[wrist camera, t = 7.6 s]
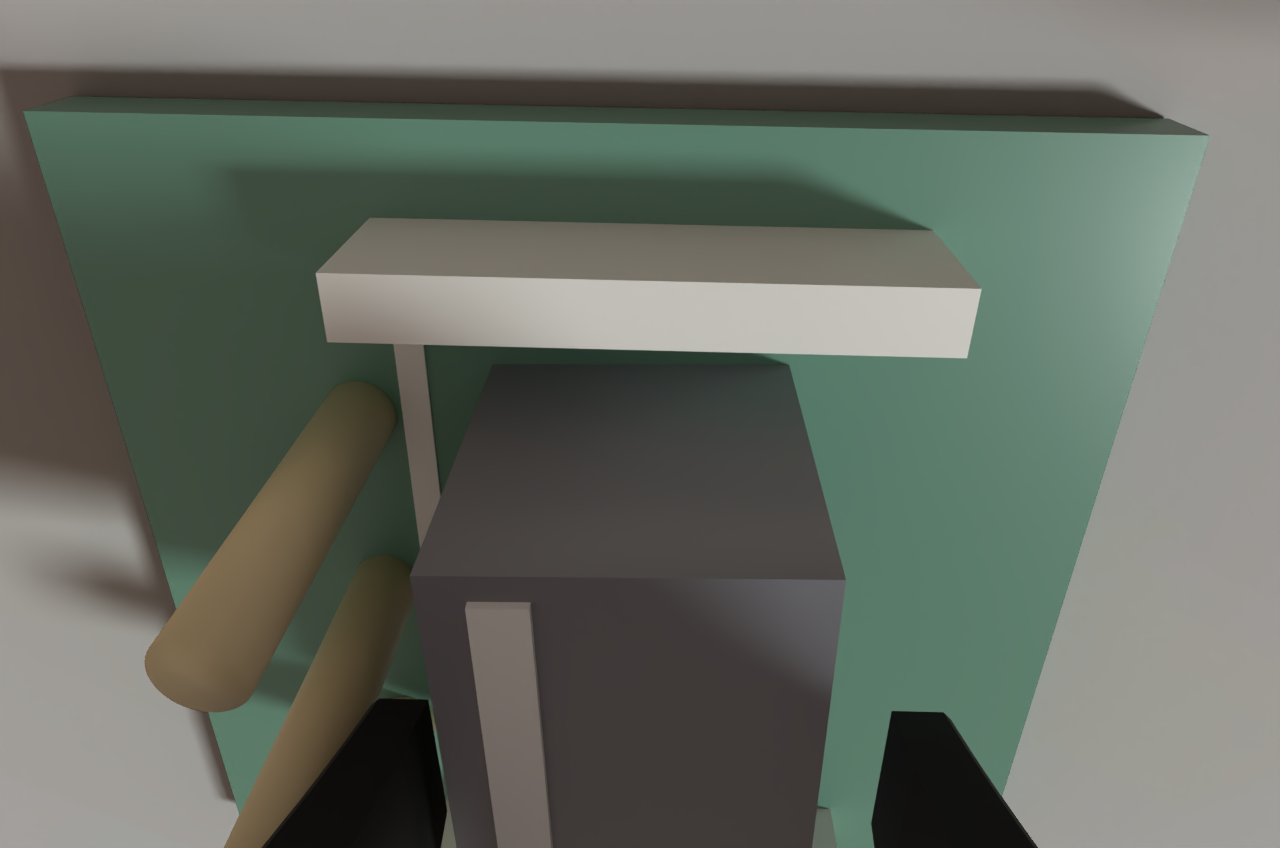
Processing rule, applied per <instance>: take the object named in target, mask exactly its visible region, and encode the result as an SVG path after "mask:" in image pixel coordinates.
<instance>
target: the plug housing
mask: <svg viewBox="0 0 1280 848" xmlns="http://www.w3.org/2000/svg"><path fill="white" fill-rule="evenodd" d="M410 581H411V586H412V592H413V598H414V604H415V610H416V615H417V621H418V627H419V633H420V639H421V644H422V650H423V656H424V662H425V668H426V673H427V679H428V685H429V691H430V697H431V702H432V708H433V714H434V720H435V726H436V731H437V737H438V743H439V749H440V755H441V760H442V766H443V772H444V778H445V784H446V789H447V795H448V801H449V807H450V812H451V818H452V824H453V830H454V836H455V841H456V847H457V848H812V844H813V836H814V828H815V820H816V812H817V805H818V797H819V789H820V781H821V773H822V765H823V758H824V750H825V742H826V734H827V726H828V718H829V711H830V703H831V695H832V687H833V679H834V671H835V663H836V656H837V648H838V640H839V632H840V624H841V616H842V609H843V601H844V593H845V585H846V578H845V574H844V570H843V566H842V562H841V559H840V555H839V551H838V547H837V544H836V540H835V536H834V532H833V528H832V525H831V521H830V517H829V513H828V509H827V506H826V502H825V498H824V494H823V491H822V487H821V483H820V479H819V475H818V472H817V468H816V464H815V460H814V457H813V453H812V449H811V445H810V441H809V438H808V434H807V430H806V426H805V422H804V419H803V415H802V411H801V407H800V404H799V400H798V396H797V392H796V388H795V385H794V381H793V377H792V373H791V370H790V366H789V365H605V364H492V367H491V370H490V372H489V375H488V377H487V380H486V382H485V385H484V387H483V390H482V393H481V395H480V398H479V400H478V403H477V405H476V408H475V410H474V413H473V416H472V418H471V421H470V423H469V426H468V428H467V431H466V433H465V436H464V439H463V441H462V444H461V446H460V449H459V451H458V454H457V456H456V459H455V462H454V464H453V467H452V469H451V472H450V474H449V477H448V479H447V482H446V485H445V487H444V490H443V492H442V495H441V497H440V500H439V502H438V505H437V508H436V510H435V513H434V515H433V518H432V520H431V523H430V525H429V528H428V530H427V533H426V536H425V538H424V541H423V543H422V546H421V548H420V551H419V553H418V556H417V559H416V561H415V564H414V566H413V569H412V571H411V574H410Z"/></svg>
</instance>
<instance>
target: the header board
mask: <svg viewBox="0 0 1280 848" xmlns="http://www.w3.org/2000/svg"><path fill="white" fill-rule="evenodd" d="M23 113H24V116H25V119H26V123H27V126H28V129H29V132H30V136H31V139H32V142H33V145H34V149H35V152H36V155H37V158H38V162H39V165H40V168H41V171H42V175H43V178H44V181H45V184H46V188H47V191H48V194H49V197H50V201H51V204H52V207H53V210H54V214H55V217H56V220H57V223H58V227H59V230H60V233H61V236H62V240H63V243H64V246H65V249H66V253H67V256H68V259H69V262H70V266H71V269H72V272H73V275H74V279H75V282H76V285H77V288H78V292H79V295H80V298H81V301H82V305H83V308H84V311H85V314H86V318H87V321H88V324H89V327H90V331H91V334H92V337H93V340H94V344H95V347H96V350H97V353H98V357H99V360H100V363H101V366H102V370H103V373H104V376H105V379H106V383H107V386H108V389H109V392H110V396H111V399H112V402H113V405H114V409H115V412H116V415H117V418H118V422H119V425H120V428H121V431H122V435H123V438H124V441H125V444H126V448H127V451H128V454H129V457H130V461H131V464H132V467H133V470H134V474H135V477H136V480H137V483H138V487H139V490H140V493H141V496H142V500H143V503H144V506H145V509H146V513H147V516H148V519H149V522H150V526H151V529H152V532H153V535H154V539H155V542H156V545H157V548H158V552H159V555H160V558H161V561H162V565H163V568H164V571H165V574H166V578H167V581H168V584H169V587H170V591H171V594H172V597H173V600H174V604H175V607H176V610H175V612H174V613H173V615H172V616H171V618H170V619H169V620H168V622H167V623H166V625H165V626H164V627H163V629H162V630H161V632H160V633H159V635H158V636H157V637H156V639H155V640H154V642H153V643H152V644H151V646H150V647H149V649H148V651H147V653H146V656H145V668H146V672H147V675H148V677H149V679H150V680H151V682H152V683H153V685H154V686H155V687H156V688H157V689H158V690H159V691H160V692H161V693H162V694H163V695H165V696H166V697H167V698H169V699H170V700H172V701H174V702H176V703H177V704H180V705H182V706H184V707H187V708H190V709H193V710H197V711H203V712H208V714H209V717H210V720H211V724H212V727H213V730H214V733H215V737H216V740H217V743H218V746H219V750H220V753H221V756H222V759H223V763H224V766H225V769H226V772H227V776H228V779H229V782H230V785H231V789H232V792H233V795H234V798H235V802H236V805H237V808H238V811H239V817H238V819H237V821H236V823H235V825H234V828H233V830H232V832H231V834H230V836H229V838H228V840H227V842H226V844H225V846H224V848H262V846H263V845H264V844H265V843H266V841H267V840H268V839H269V838H270V837H271V835H272V834H273V833H274V832H275V830H276V829H277V828H278V827H279V825H280V824H281V823H282V822H283V820H284V819H285V818H286V817H287V816H288V814H289V813H290V812H291V811H292V809H293V808H294V807H295V806H296V804H297V803H298V802H299V801H300V799H301V798H302V797H303V796H304V794H305V793H306V792H307V790H308V789H309V788H310V787H311V785H312V784H313V783H314V781H315V780H316V779H317V777H318V776H319V775H320V774H321V772H322V771H323V770H324V768H325V767H326V766H327V764H328V763H329V762H330V760H331V759H332V758H333V756H334V755H335V754H336V752H337V751H338V750H339V748H340V747H341V746H342V744H343V743H344V742H345V740H346V739H347V737H348V736H349V735H350V733H351V732H352V731H353V729H354V728H355V727H356V725H357V724H358V722H359V721H360V720H361V718H362V717H363V715H364V714H365V713H366V711H367V710H368V709H369V707H370V706H371V705H372V704H373V703H374V702H375V701H376V700H378V699H379V698H386V699H426V700H428V701H429V707H430V713H431V718H432V724H433V730H434V736H435V742H436V747H437V753H438V759H439V765H440V771H441V777H442V782H443V788H444V794H445V800H446V806H447V816H446V822H445V827H444V833H443V839H442V844H441V848H457V847H456V841H455V836H454V830H453V824H452V818H451V812H450V807H449V801H448V795H447V789H446V784H445V778H444V772H443V766H442V760H441V755H440V749H439V743H438V737H437V731H436V726H435V720H434V714H433V708H432V702H431V697H430V691H429V685H428V679H427V673H426V668H425V662H424V656H423V650H422V644H421V639H420V633H419V627H418V621H417V615H416V610H415V604H414V598H413V592H412V586H411V581H410V574H411V571H412V569H413V566H414V564H415V561H416V559H417V556H418V553H419V551H420V548H421V546H422V543H423V541H424V538H425V536H426V533H427V530H428V528H429V525H430V523H431V520H432V518H433V515H434V513H435V510H436V508H437V505H438V502H439V500H440V497H441V495H442V492H443V490H444V487H445V485H446V482H447V479H448V477H449V474H450V472H451V469H452V467H453V464H454V462H455V459H456V456H457V454H458V451H459V449H460V446H461V444H462V441H463V439H464V436H465V433H466V431H467V428H468V426H469V423H470V421H471V418H472V416H473V413H474V410H475V408H476V405H477V403H478V400H479V398H480V395H481V393H482V390H483V387H484V385H485V382H486V380H487V377H488V375H489V372H490V370H491V367H492V364H605V365H789V366H790V370H791V373H792V377H793V381H794V385H795V388H796V392H797V396H798V400H799V404H800V407H801V411H802V415H803V419H804V422H805V426H806V430H807V434H808V438H809V441H810V445H811V449H812V453H813V457H814V460H815V464H816V468H817V472H818V475H819V479H820V483H821V487H822V491H823V494H824V498H825V502H826V506H827V509H828V513H829V517H830V521H831V525H832V528H833V532H834V536H835V540H836V544H837V547H838V551H839V555H840V559H841V562H842V566H843V570H844V574H845V578H846V585H845V593H844V601H843V609H842V616H841V624H840V632H839V640H838V648H837V656H836V663H835V671H834V679H833V687H832V695H831V703H830V711H829V718H828V726H827V734H826V742H825V750H824V758H823V765H822V773H821V781H820V789H819V797H818V805H817V812H816V820H815V828H814V836H813V844H812V848H874V841H873V834H872V827H871V821H872V815H873V810H874V804H875V799H876V794H877V788H878V783H879V777H880V772H881V766H882V761H883V755H884V750H885V744H886V739H887V733H888V728H889V723H890V717H891V712H892V711H915V712H944V713H945V714H946V715H947V716H948V717H949V718H950V719H951V720H952V722H953V723H954V725H955V727H956V728H957V730H958V731H959V733H960V734H961V736H962V738H963V739H964V741H965V742H966V744H967V745H968V747H969V748H970V750H971V751H972V753H973V755H974V756H975V758H976V759H977V761H978V762H979V764H980V765H981V767H982V768H983V770H984V771H985V773H986V774H987V776H988V777H989V779H990V780H991V782H992V783H993V785H994V786H995V788H996V789H997V790H998V792H999V793H1000V795H1001V796H1002V794H1003V791H1004V788H1005V785H1006V782H1007V778H1008V775H1009V772H1010V769H1011V766H1012V763H1013V759H1014V756H1015V753H1016V750H1017V747H1018V744H1019V740H1020V737H1021V734H1022V731H1023V728H1024V724H1025V721H1026V718H1027V715H1028V712H1029V709H1030V705H1031V702H1032V699H1033V696H1034V693H1035V690H1036V686H1037V683H1038V680H1039V677H1040V674H1041V671H1042V667H1043V664H1044V661H1045V658H1046V655H1047V652H1048V648H1049V645H1050V642H1051V639H1052V636H1053V632H1054V629H1055V626H1056V623H1057V620H1058V617H1059V613H1060V610H1061V607H1062V604H1063V601H1064V598H1065V594H1066V591H1067V588H1068V585H1069V582H1070V579H1071V575H1072V572H1073V569H1074V566H1075V563H1076V559H1077V556H1078V553H1079V550H1080V547H1081V544H1082V540H1083V537H1084V534H1085V531H1086V528H1087V525H1088V521H1089V518H1090V515H1091V512H1092V509H1093V506H1094V502H1095V499H1096V496H1097V493H1098V490H1099V486H1100V483H1101V480H1102V477H1103V474H1104V471H1105V467H1106V464H1107V461H1108V458H1109V455H1110V452H1111V448H1112V445H1113V442H1114V439H1115V436H1116V433H1117V429H1118V426H1119V423H1120V420H1121V417H1122V414H1123V410H1124V407H1125V404H1126V401H1127V398H1128V394H1129V391H1130V388H1131V385H1132V382H1133V379H1134V375H1135V372H1136V369H1137V366H1138V363H1139V360H1140V356H1141V353H1142V350H1143V347H1144V344H1145V341H1146V337H1147V334H1148V331H1149V328H1150V325H1151V321H1152V318H1153V315H1154V312H1155V309H1156V306H1157V302H1158V299H1159V296H1160V293H1161V290H1162V287H1163V283H1164V280H1165V277H1166V274H1167V271H1168V268H1169V264H1170V261H1171V258H1172V255H1173V252H1174V249H1175V245H1176V242H1177V239H1178V236H1179V233H1180V229H1181V226H1182V223H1183V220H1184V217H1185V214H1186V210H1187V207H1188V204H1189V201H1190V198H1191V195H1192V191H1193V188H1194V185H1195V182H1196V179H1197V176H1198V172H1199V169H1200V166H1201V163H1202V160H1203V156H1204V153H1205V150H1206V147H1207V144H1208V141H1209V137H1210V135H1207V134H1205V133H1202V132H1200V131H1197V130H1195V129H1193V128H1190V127H1188V126H1185V125H1183V124H1181V123H1178V122H1176V121H1173V120H1171V119H1160V118H1111V117H1062V116H1013V115H964V114H915V113H867V112H818V111H769V110H720V109H671V108H622V107H573V106H524V105H475V104H426V103H377V102H328V101H279V100H231V99H182V98H133V97H84V96H70V97H67V98H64V99H61V100H57V101H54V102H51V103H48V104H44V105H41V106H38V107H35V108H31V109H28V110H25V111H23Z"/></svg>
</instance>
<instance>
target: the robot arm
mask: <svg viewBox="0 0 1280 848" xmlns="http://www.w3.org/2000/svg"><path fill="white" fill-rule="evenodd" d="M446 816H447V806H446V800H445V794H444V788H443V782H442V777H441V771H440V765H439V759H438V753H437V747H436V742H435V736H434V730H433V724H432V718H431V713H430V707H429V701H428V700H426V699H386V698H379V699H378V700H376V701H375V702H374V703H373V704H372V705H371V706H370V707H369V709H368V710H367V711H366V713H365V714H364V715H363V717H362V718H361V720H360V721H359V722H358V724H357V725H356V727H355V728H354V729H353V731H352V732H351V733H350V735H349V736H348V737H347V739H346V740H345V742H344V743H343V744H342V746H341V747H340V748H339V750H338V751H337V752H336V754H335V755H334V756H333V758H332V759H331V760H330V762H329V763H328V764H327V766H326V767H325V768H324V770H323V771H322V772H321V774H320V775H319V776H318V777H317V779H316V780H315V781H314V783H313V784H312V785H311V787H310V788H309V789H308V790H307V792H306V793H305V794H304V796H303V797H302V798H301V799H300V801H299V802H298V803H297V804H296V806H295V807H294V808H293V809H292V811H291V812H290V813H289V814H288V816H287V817H286V818H285V819H284V820H283V822H282V823H281V824H280V825H279V827H278V828H277V829H276V830H275V832H274V833H273V834H272V835H271V837H270V838H269V839H268V840H267V841H266V843H265V844H264V845H263V846H262V848H441V844H442V839H443V833H444V827H445V822H446ZM871 827H872V834H873V841H874V848H1038V847H1037V846H1036V844H1035V843H1034V842H1033V840H1032V839H1031V837H1030V836H1029V835H1028V833H1027V832H1026V830H1025V829H1024V828H1023V826H1022V825H1021V823H1020V822H1019V821H1018V819H1017V818H1016V816H1015V815H1014V814H1013V812H1012V811H1011V809H1010V808H1009V806H1008V805H1007V803H1006V802H1005V801H1004V799H1003V798H1002V796H1001V795H1000V793H999V792H998V790H997V789H996V788H995V786H994V785H993V783H992V782H991V780H990V779H989V777H988V776H987V774H986V773H985V771H984V770H983V768H982V767H981V765H980V764H979V762H978V761H977V759H976V758H975V756H974V755H973V753H972V751H971V750H970V748H969V747H968V745H967V744H966V742H965V741H964V739H963V738H962V736H961V734H960V733H959V731H958V730H957V728H956V727H955V725H954V723H953V722H952V720H951V719H950V718H949V717H948V716H947V715H946V714H945V713H944V712H915V711H892V712H891V717H890V723H889V728H888V733H887V739H886V744H885V750H884V755H883V761H882V766H881V772H880V777H879V783H878V788H877V794H876V799H875V804H874V810H873V815H872V821H871Z"/></svg>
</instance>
